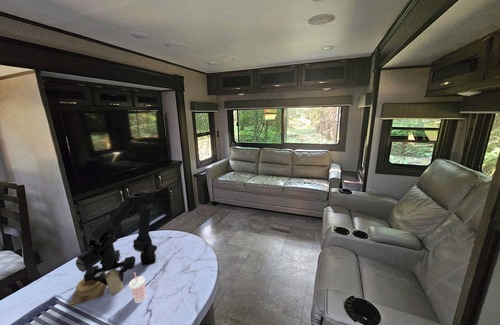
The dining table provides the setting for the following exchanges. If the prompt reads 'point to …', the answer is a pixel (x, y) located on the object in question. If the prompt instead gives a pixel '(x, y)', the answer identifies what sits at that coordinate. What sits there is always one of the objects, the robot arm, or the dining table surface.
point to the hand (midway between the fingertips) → (115, 282)
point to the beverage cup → (138, 288)
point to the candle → (114, 281)
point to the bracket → (87, 291)
